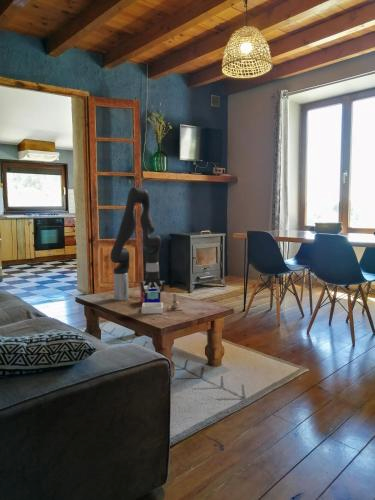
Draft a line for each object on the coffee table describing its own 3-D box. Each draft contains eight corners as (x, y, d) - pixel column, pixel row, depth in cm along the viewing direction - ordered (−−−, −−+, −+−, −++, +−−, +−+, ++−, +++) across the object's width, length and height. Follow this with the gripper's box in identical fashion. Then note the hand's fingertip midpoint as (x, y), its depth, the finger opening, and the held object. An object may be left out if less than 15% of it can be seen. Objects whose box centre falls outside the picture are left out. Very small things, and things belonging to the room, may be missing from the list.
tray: (141, 313, 219) (141, 308, 219) (142, 308, 231) (142, 302, 231) (163, 313, 220) (163, 307, 220) (163, 307, 232) (163, 302, 231)
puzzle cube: (144, 305, 238) (144, 289, 237) (140, 301, 247) (140, 286, 246) (160, 303, 241) (160, 287, 240) (155, 300, 251) (155, 284, 250)
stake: (168, 310, 225) (168, 295, 224) (168, 307, 233) (168, 292, 232) (182, 310, 226) (182, 295, 224) (181, 306, 233) (181, 292, 232)
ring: (147, 296, 227) (147, 291, 227) (158, 296, 228) (158, 291, 227) (147, 299, 220) (147, 294, 220) (158, 299, 220) (158, 293, 220)
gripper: (165, 268, 227) (165, 297, 229) (140, 269, 226) (140, 297, 228) (165, 271, 220) (165, 300, 221) (139, 271, 219) (140, 300, 220)
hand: (152, 298), depth 225 cm, fingers closed on ring, 6 cm apart
